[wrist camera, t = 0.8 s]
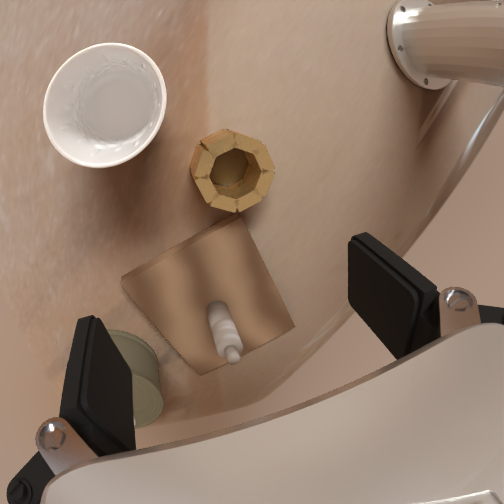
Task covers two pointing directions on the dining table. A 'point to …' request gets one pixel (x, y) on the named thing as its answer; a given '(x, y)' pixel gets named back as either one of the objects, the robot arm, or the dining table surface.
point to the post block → (211, 296)
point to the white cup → (104, 105)
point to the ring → (243, 190)
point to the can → (141, 376)
